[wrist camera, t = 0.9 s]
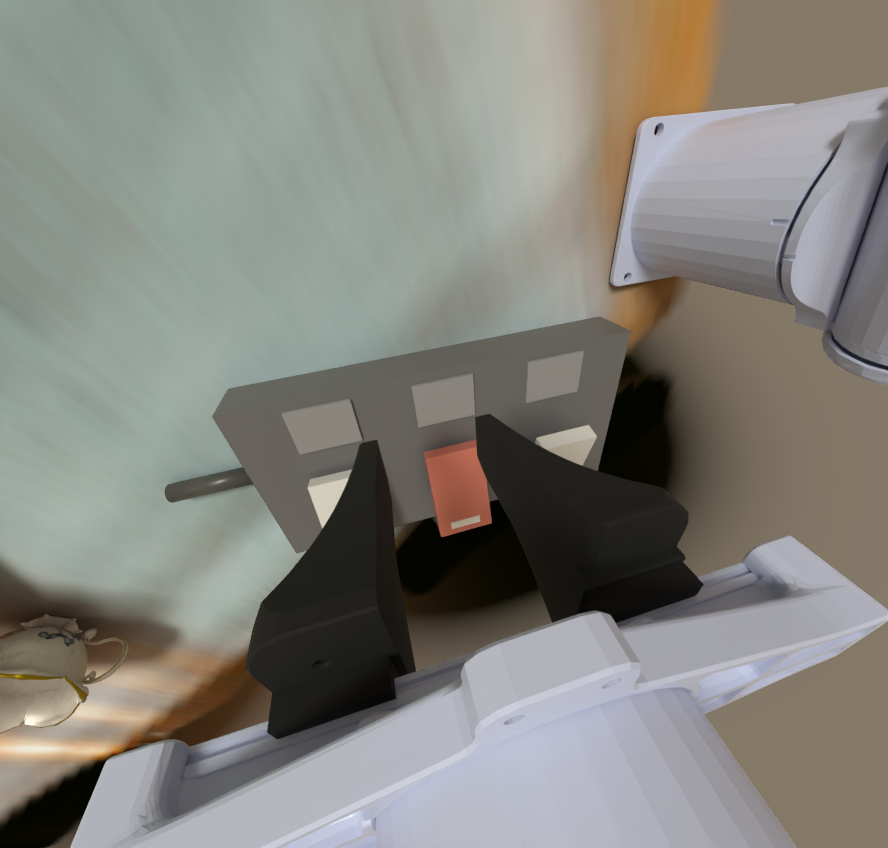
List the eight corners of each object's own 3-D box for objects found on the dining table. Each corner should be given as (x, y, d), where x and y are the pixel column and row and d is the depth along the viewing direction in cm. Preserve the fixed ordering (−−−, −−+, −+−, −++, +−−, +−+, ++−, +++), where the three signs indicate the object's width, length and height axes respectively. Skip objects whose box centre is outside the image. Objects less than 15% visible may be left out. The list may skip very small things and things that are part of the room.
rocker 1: (369, 460, 21) (369, 473, 20) (389, 535, 23) (391, 551, 22) (311, 474, 21) (307, 488, 19) (338, 549, 23) (336, 567, 21)
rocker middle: (474, 435, 22) (482, 445, 21) (484, 509, 24) (492, 523, 23) (421, 448, 22) (426, 459, 20) (436, 522, 24) (441, 537, 22)
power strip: (600, 316, 23) (633, 332, 20) (576, 450, 30) (598, 474, 27) (113, 411, 18) (76, 446, 16) (220, 541, 25) (206, 579, 23)
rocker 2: (583, 418, 22) (597, 437, 21) (562, 468, 26) (572, 486, 25) (532, 430, 21) (544, 450, 20) (519, 479, 26) (528, 498, 25)
